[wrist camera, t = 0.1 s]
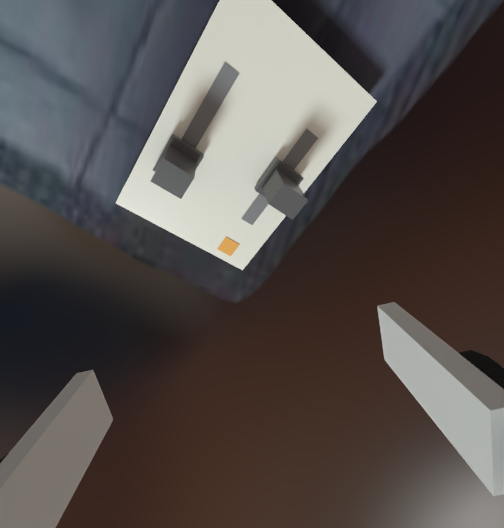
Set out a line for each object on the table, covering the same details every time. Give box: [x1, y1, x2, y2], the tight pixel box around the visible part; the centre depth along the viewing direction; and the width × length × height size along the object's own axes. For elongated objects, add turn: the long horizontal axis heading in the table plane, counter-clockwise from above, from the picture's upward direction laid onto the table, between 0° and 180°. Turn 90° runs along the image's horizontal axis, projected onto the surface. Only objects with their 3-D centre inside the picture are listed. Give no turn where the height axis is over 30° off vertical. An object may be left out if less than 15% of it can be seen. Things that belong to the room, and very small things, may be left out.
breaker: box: [151, 134, 204, 199], centre depth 30 cm, size 4×4×6 cm
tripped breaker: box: [254, 157, 308, 220], centre depth 33 cm, size 4×4×6 cm
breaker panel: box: [116, 0, 377, 270], centre depth 35 cm, size 24×17×3 cm
